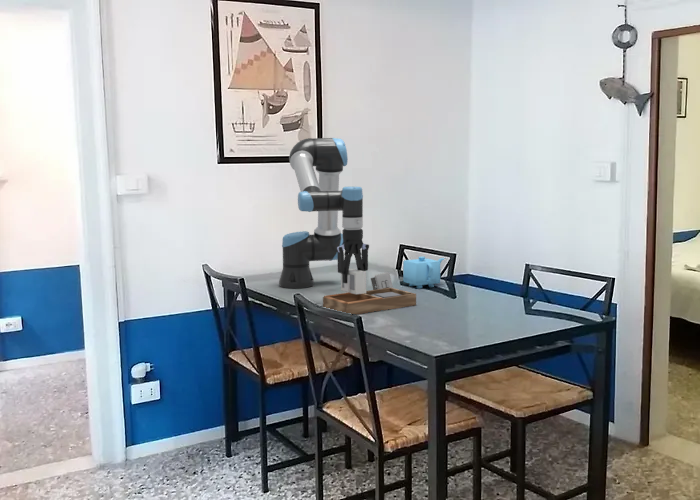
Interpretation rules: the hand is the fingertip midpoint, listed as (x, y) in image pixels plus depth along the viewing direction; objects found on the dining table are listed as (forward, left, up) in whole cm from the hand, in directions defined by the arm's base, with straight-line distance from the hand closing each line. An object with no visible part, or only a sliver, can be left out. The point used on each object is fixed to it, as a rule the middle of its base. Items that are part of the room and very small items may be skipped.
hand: (353, 290), depth 284 cm
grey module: (+1, +16, -8) cm, 17 cm away
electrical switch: (-15, +25, -7) cm, 30 cm away
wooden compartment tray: (0, +8, -7) cm, 11 cm away
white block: (0, 0, 0) cm, 0 cm away
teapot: (-21, +54, -7) cm, 58 cm away
